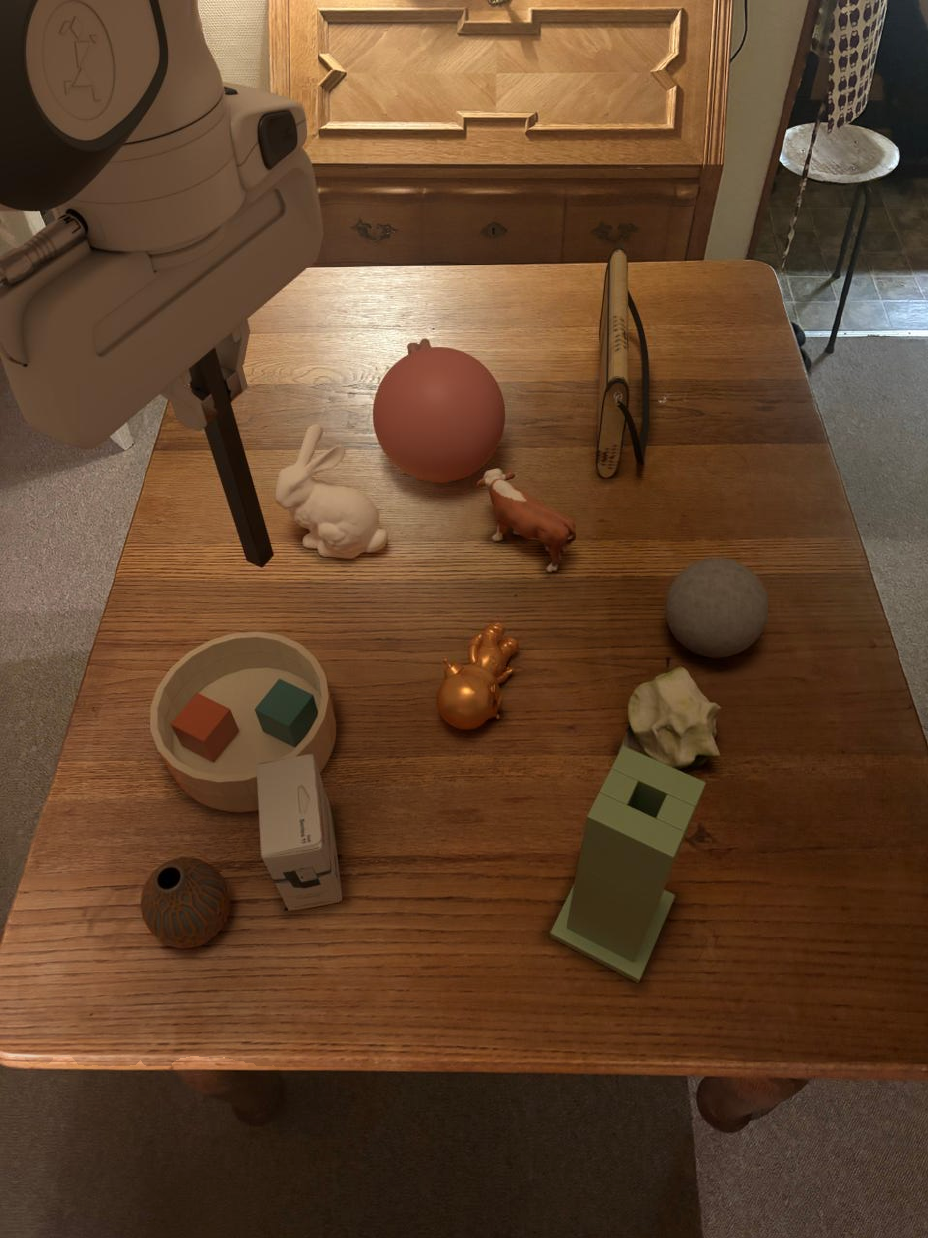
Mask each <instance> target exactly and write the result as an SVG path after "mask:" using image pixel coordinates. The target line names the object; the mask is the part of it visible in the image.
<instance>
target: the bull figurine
mask: <svg viewBox="0 0 928 1238" xmlns="http://www.w3.org/2000/svg"><path fill="white" fill-rule="evenodd" d="M514 478H516V473H515V472H513V471H509V472H507V473H505V474H504V473H503V471H502V470H501V469H500V468H493V469H489V470H486V471H485V472H484V474H483V478H481V479H479V480H478V481H477V482H476V486H477V487H478V488H482V487H484V486H486V487H487V489H488V494H489V497H490V500H491V504H492V506H493V508H492V509H493V515H494V516H495V518H496V519H497V524H498V525H497V527H496V532H495V534H493V535H491V540H492V542H500V541H503V539H504V536H503V534H504V533H505V532H506V530H507V529H508V528H509V527H511V528H512V533H513V534H514V535H515V536H517V535H518V536H519V535H520V536H522V537H523V538H526V539H530V540H539V541H540V542H541V543H542V544H544V550H545V551H546V552H548V553H549V555H550V558H551V562H550V563H549V564H548V565H547V566H546V567H545V571H546V572H547V573H552V572H553V571H554V572H557V570H558V566H559V563H560V562H561V561H562V560H563V559H562V557H563V556H562V555H561V551H562V552H563V553H565V552H569V550H570V548H571V546H572V543H573V542H575V541H576V539H577V532H576V523H575V521H574V520H573V519H572V518H571V517H569V516H568V515H566V514H564V513H562V512H560V511H559V510H558V509H556V508H554V507H553V506H549V505H547V504H545V503H544V502H542V501H540V500H538V499H537V498H534V497H532V496H531V495H529V494H528V493H527V492H525V491H523V490H521V489H519V488H515V487H513V486H512V485H511V483H510V482H508V481H509V480H512V479H514ZM570 537H571V538H570Z"/></svg>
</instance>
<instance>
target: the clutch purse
mask: <svg viewBox="0 0 928 1238" xmlns="http://www.w3.org/2000/svg"><path fill="white" fill-rule="evenodd" d="M603 281H604V282H603V290H602V300H601V310H600V316H599V317H600V319H599V326H598V341H599V370H598V371H599V372H598V373H599V374H598V375H599V377H598V378H599V379H598V416H597V417H598V418H597V419H598V421H597V422H598V423H597V426H598V427H597V444H596V454H595V468H596V470H597V473H598V475H599V476H600V477H602V478H605V479H607V478H610V477H612V476H613V475H615V473H616V472H617V470H618V467H619V465H620V460H621V457H622V450H623V444H624V436H625V432H626V427H628V430H629V434H630V438H631V443H632V447H633V453H634V458H635V462H636V464H640V465H642V466H644V465H645V454H646V447H647V442H648V434H649V427H650V367H649V366H650V359H649V350H648V343H647V337H646V334H645V329H644V325H643V322H642V320H641V317H640V314H639V311H638V308H637V305H636V303H635V301H634V299H633V297H632V294H631V293H630V290H629V262H628V255H627V252H626V251H625V250H624V248H622V247H621V246H620V247H616V248H614V249H613V250H612V251H611V253H610V255H609V257H608V260H607V264H606V267H605V273H604V279H603ZM629 310H630V314H631V316H632V318H633V321H634V324H635V328H636V332H637V336H638V341H639V347H640V354H641V372H642V373H641V377H642V378H641V379H642V380H641V385H642V386H641V390H642V391H641V393H642V395H641V398H642V399H641V400H642V401H641V404H642V405H641V407H642V408H641V409H642V411H641V412H642V416H641V426H640V433H639V434H638V430H637V427H636V424H635V420H634V418H633V416H632V413H631V412H630V410H629V406H630V405H629V403H630V373H629V372H630V365H629V364H630V362H629V360H630V358H629V354H630V353H629V352H630V351H629Z"/></svg>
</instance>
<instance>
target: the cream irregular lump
mask: <svg viewBox="0 0 928 1238" xmlns="http://www.w3.org/2000/svg"><path fill="white" fill-rule="evenodd" d="M670 663H671V656H666V657H665V665H666V668H665V669H666V670H665V671H666V672H664V673H661V674H658V675H657V676H655V677H654V678H653V679H652V680H649V681H646V682H642V683H640V684H639V685H637V686H636V687H635V688H634V689H633V691H632V692H631V694H630V696H629V699H628V701H627V720H628V722H629V725H628V727H627V729H626V732H625V735H624V737H623V740H622V742H621V744H620V747H619V750H618V752H620V750H621V748H622V746H625V747H627V748H629V749H631V750H634V751H636V752H638V753H640V754H643V755H645V756H647V757H649V758H652V759H654V760H656V761H658V762H661V763H663V764H665V765H668V766H670V767H672V768H674V769H677V770H682V769H686V768H692V767H700V766H702V765H703V764H704V763H706V762H707V760H708V759H717V758H718V757H719V758H720V757H721V753H720V750H719V748H718V746H717V744H716V743H717V742H716V740H715V738H716V737H717V734H718V731H717V726H716V724H717V715H718V714H719V712H720V710H721V709H722V707H721V706H720V705H718V703H716V702H711V701H710V700H709V699H708V698H707V696H705V695H704V693H702V692H701V690H700V688H699V687H698V685H697V683H696V682H695V680H694V679H693V678H692V677H691V675H690V673H689V671H688V670H687V669H686V668H685V667H683V666H679V667H676V668H674V669H672V670H671V671H670V669H669V668H670Z"/></svg>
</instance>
